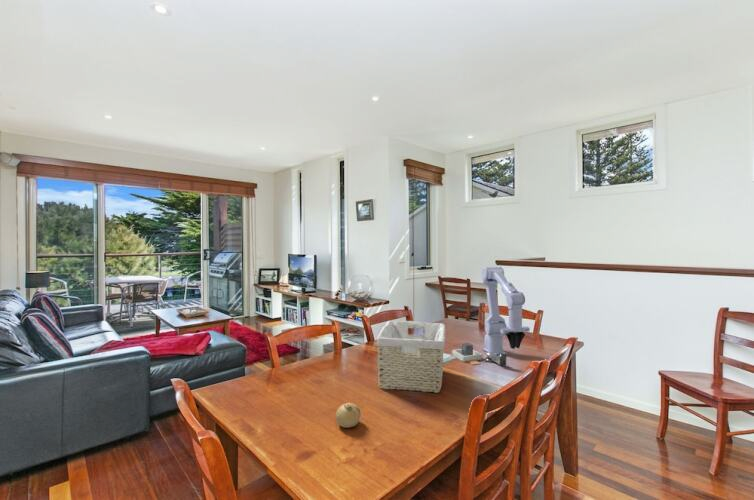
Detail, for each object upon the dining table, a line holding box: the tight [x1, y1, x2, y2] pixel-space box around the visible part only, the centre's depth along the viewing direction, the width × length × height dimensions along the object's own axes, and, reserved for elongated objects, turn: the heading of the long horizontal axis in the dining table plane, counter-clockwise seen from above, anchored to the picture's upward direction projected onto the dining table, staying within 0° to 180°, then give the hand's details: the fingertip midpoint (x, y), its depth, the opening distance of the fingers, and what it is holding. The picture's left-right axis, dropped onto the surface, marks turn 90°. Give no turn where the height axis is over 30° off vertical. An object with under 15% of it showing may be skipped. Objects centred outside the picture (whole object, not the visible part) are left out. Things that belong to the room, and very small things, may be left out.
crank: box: [486, 351, 507, 367], centre depth 165 cm, size 12×3×5 cm, turn 18°
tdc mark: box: [467, 360, 481, 366], centre depth 166 cm, size 4×4×1 cm
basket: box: [376, 320, 447, 394], centre depth 147 cm, size 27×27×22 cm
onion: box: [335, 402, 361, 429], centre depth 112 cm, size 8×8×7 cm
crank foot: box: [484, 356, 496, 364], centre depth 169 cm, size 5×5×1 cm
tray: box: [451, 348, 484, 363], centre depth 174 cm, size 11×11×2 cm
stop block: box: [461, 342, 474, 356], centre depth 174 cm, size 4×4×6 cm
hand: (514, 347), depth 162 cm, fingers open, 2 cm apart
